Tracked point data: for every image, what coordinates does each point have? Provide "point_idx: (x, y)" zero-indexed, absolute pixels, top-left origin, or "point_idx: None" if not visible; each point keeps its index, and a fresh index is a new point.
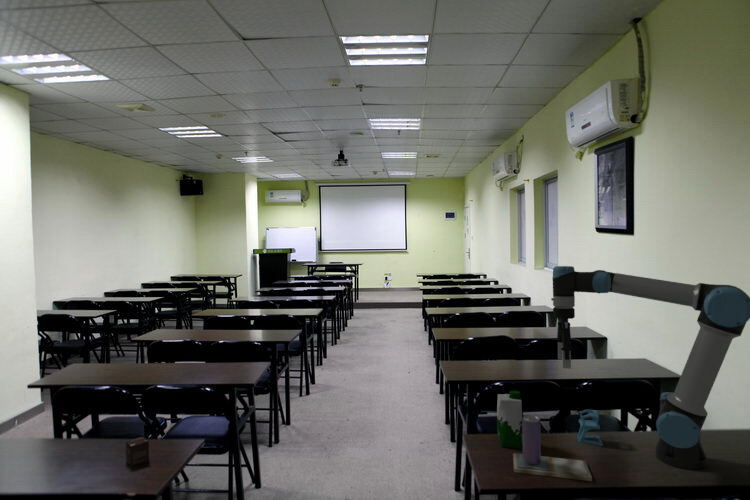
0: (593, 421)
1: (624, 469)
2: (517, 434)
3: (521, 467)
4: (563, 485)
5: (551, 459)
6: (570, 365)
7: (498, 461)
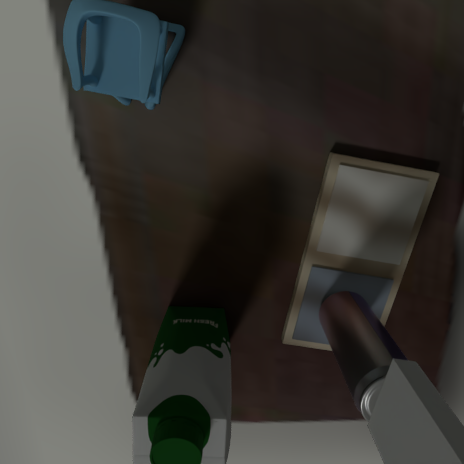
0: (100, 26)
1: (368, 31)
2: (229, 342)
3: None
4: (446, 253)
5: (322, 252)
6: (432, 391)
7: (310, 374)
